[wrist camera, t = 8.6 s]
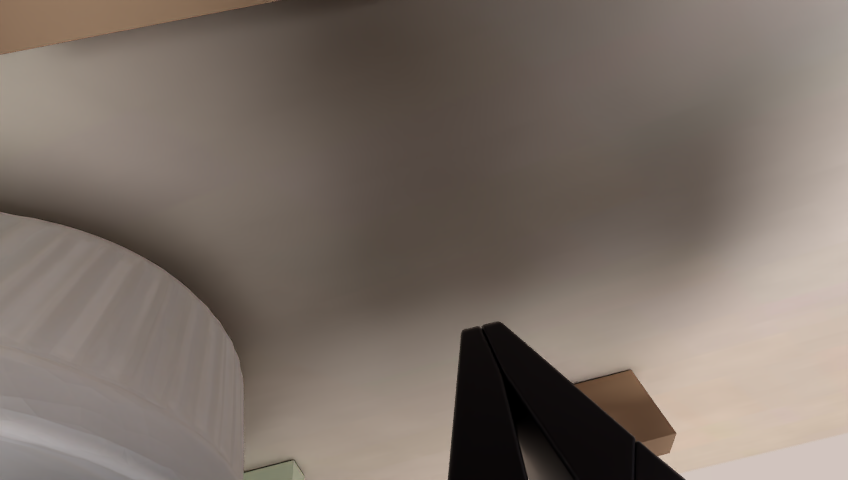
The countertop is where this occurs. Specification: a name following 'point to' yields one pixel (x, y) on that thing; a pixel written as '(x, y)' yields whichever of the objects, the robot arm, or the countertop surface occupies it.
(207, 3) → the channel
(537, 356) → the robot arm
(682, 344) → the countertop surface
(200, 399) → the ramekin
